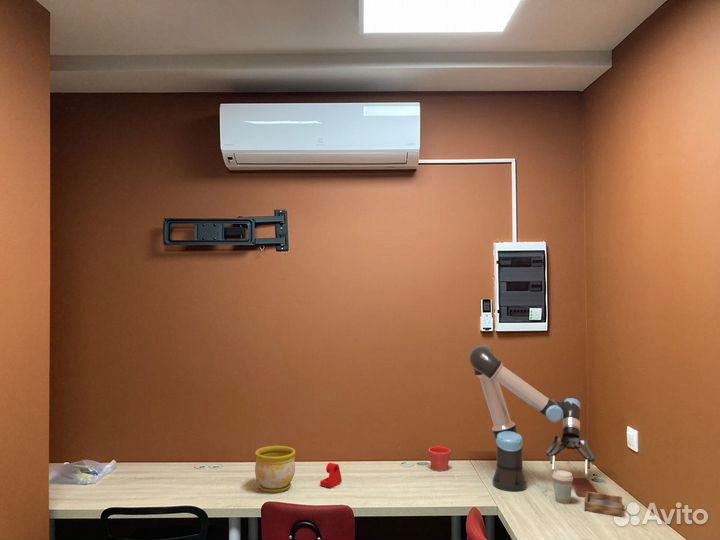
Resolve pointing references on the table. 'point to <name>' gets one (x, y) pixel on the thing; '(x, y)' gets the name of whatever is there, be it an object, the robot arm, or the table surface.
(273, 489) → the flowerpot
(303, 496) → the table surface
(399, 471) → the table surface
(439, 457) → the flower pot
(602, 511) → the wood rimmed frame
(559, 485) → the coffee cup
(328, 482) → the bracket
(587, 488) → the wooden tablet
